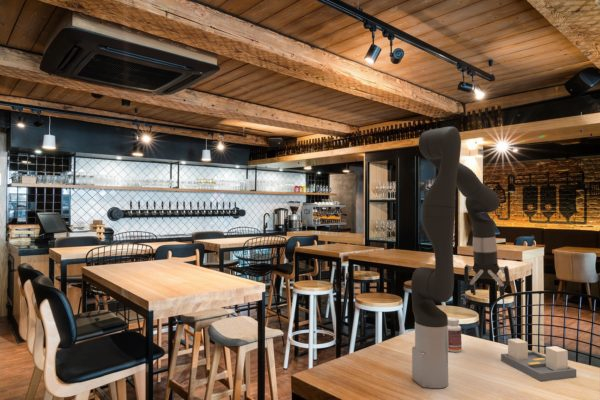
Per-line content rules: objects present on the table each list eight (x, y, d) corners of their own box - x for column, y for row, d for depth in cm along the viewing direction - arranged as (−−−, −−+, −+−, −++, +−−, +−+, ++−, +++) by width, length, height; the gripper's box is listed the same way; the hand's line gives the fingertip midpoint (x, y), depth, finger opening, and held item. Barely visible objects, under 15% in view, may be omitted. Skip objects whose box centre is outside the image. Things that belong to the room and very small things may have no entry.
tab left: (517, 362, 126) (517, 343, 126) (508, 357, 130) (507, 339, 130) (527, 361, 127) (527, 342, 127) (518, 356, 131) (518, 338, 131)
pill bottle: (464, 349, 142) (464, 318, 142) (456, 354, 137) (456, 322, 138) (447, 345, 146) (447, 315, 146) (440, 349, 142) (439, 318, 142)
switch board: (540, 381, 116) (540, 373, 116) (501, 360, 131) (500, 353, 131) (576, 376, 119) (576, 369, 119) (533, 357, 134) (533, 350, 134)
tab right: (557, 371, 119) (556, 351, 119) (545, 366, 123) (545, 347, 123) (567, 370, 120) (567, 350, 120) (556, 365, 124) (556, 346, 124)
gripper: (461, 251, 136) (464, 297, 137) (507, 251, 129) (510, 300, 130) (464, 247, 143) (467, 291, 144) (508, 247, 136) (511, 294, 136)
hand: (487, 295), depth 137 cm, fingers open, 8 cm apart
